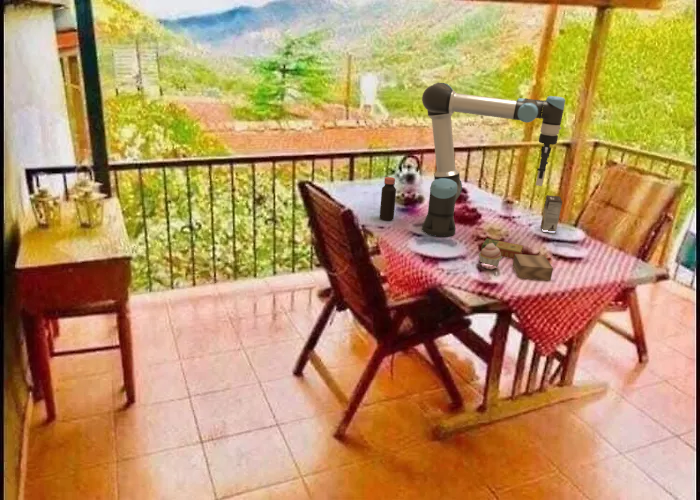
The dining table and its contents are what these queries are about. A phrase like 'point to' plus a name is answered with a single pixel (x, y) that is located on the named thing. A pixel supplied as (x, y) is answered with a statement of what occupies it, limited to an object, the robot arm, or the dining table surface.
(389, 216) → the bottle
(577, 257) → the dining table surface
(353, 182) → the dining table surface
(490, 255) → the cupcake
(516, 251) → the carton
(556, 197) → the coffee box
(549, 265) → the block
